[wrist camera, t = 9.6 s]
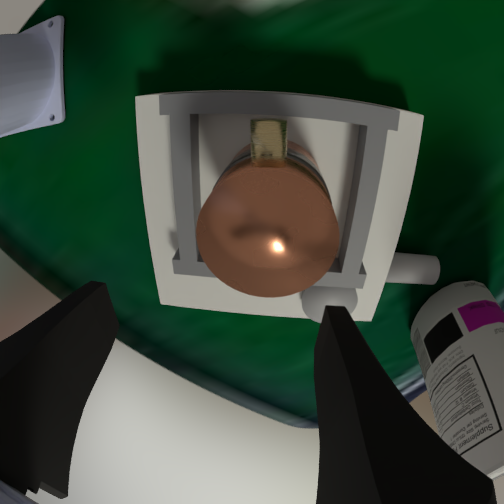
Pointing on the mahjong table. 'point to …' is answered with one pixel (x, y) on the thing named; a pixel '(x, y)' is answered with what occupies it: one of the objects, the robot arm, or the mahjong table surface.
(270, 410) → the mahjong table surface
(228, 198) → the spout can
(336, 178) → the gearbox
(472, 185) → the mahjong table surface
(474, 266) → the mahjong table surface
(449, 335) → the supplement can
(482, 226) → the mahjong table surface
